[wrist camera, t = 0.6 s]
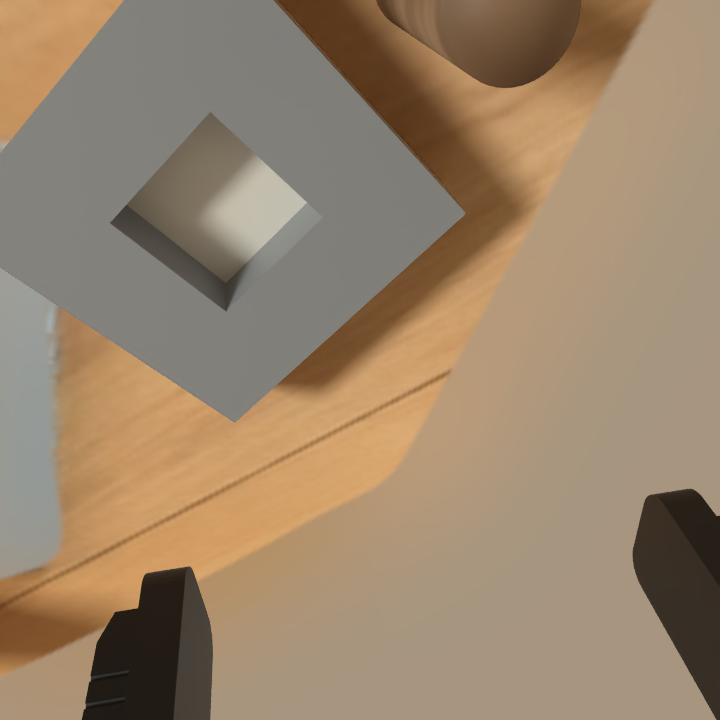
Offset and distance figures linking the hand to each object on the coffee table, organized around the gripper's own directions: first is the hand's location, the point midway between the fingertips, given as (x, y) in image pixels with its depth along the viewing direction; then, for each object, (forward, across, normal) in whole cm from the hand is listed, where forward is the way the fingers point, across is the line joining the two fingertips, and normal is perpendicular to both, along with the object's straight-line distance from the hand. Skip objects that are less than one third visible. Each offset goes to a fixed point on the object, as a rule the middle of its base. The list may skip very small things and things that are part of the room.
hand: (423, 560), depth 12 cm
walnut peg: (+26, -5, -6) cm, 27 cm away
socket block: (+25, +5, +2) cm, 26 cm away
